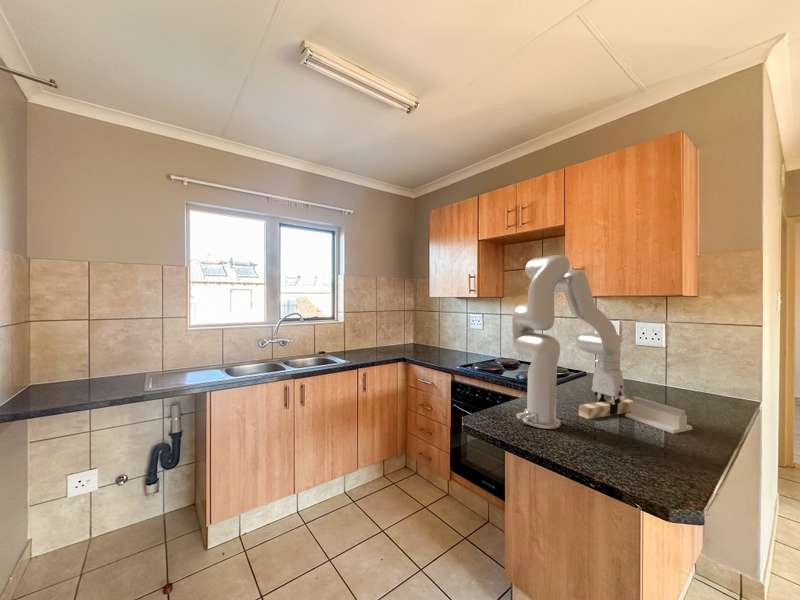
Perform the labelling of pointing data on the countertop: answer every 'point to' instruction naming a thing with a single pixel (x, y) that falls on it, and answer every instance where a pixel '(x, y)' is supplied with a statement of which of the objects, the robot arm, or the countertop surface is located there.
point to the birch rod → (603, 409)
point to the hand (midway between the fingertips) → (607, 411)
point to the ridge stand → (658, 415)
